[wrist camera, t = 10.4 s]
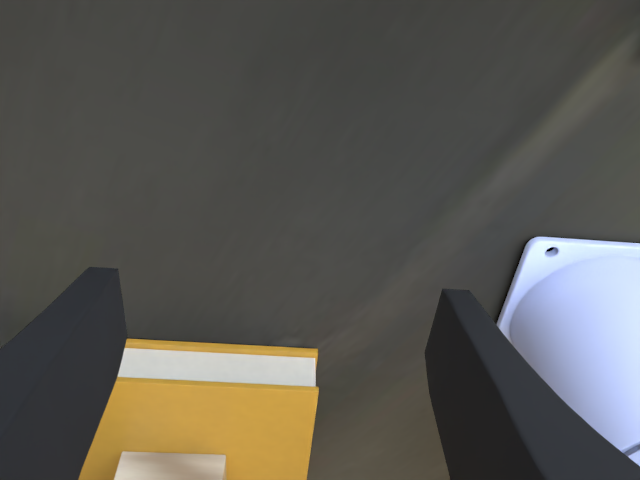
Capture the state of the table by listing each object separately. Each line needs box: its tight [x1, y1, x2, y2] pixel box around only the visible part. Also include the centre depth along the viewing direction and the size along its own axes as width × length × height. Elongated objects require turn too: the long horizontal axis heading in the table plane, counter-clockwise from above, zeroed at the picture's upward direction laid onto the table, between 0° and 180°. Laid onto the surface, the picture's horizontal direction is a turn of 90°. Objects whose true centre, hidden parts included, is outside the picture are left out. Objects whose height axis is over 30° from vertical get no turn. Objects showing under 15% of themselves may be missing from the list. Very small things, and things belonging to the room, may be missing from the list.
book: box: [78, 339, 319, 480], centre depth 32 cm, size 13×17×3 cm
